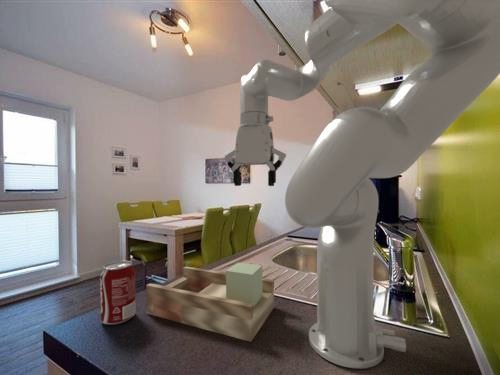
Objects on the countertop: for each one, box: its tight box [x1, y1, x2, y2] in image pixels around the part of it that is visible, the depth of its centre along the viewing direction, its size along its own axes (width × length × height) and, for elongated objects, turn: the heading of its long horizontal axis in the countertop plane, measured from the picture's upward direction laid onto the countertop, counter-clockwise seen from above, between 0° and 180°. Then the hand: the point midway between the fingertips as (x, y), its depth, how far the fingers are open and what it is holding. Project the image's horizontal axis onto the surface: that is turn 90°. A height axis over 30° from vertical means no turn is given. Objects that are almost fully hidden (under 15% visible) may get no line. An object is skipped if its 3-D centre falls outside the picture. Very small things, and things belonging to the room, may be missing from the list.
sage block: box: [225, 262, 263, 307], centre depth 54 cm, size 6×6×7 cm
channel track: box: [145, 266, 275, 343], centre depth 57 cm, size 26×14×6 cm, turn 66°
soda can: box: [99, 260, 137, 326], centre depth 54 cm, size 7×7×12 cm
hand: (254, 185), depth 66 cm, fingers open, 9 cm apart
